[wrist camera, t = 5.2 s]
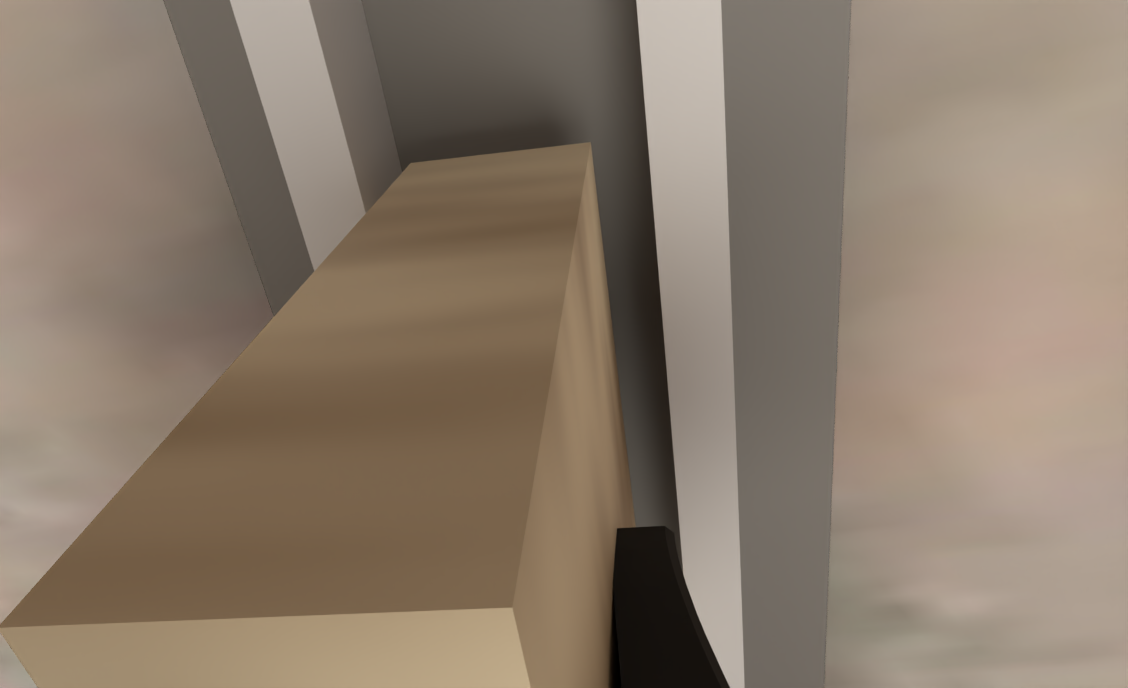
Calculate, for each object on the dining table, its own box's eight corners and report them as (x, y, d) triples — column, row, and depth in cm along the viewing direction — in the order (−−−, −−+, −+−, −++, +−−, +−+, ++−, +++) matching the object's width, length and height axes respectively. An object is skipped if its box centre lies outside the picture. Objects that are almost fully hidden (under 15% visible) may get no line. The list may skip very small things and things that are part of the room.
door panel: (651, 654, 15) (670, 1293, 8) (524, 658, 15) (438, 1276, 8) (590, 142, 10) (511, 606, 3) (410, 162, 11) (-1, 627, 4)
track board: (812, 737, 20) (862, 962, 16) (443, 743, 22) (396, 953, 17) (851, -571, 9) (1062, -1028, 5) (68, -394, 10) (-348, -622, 6)
